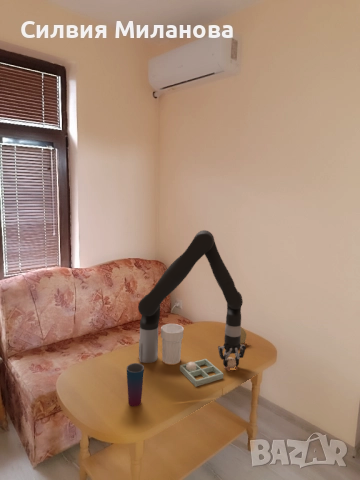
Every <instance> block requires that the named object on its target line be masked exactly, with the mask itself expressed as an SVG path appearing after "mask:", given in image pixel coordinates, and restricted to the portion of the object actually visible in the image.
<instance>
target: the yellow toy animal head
mask: <svg viewBox="0 0 360 480" xmlns="http://www.w3.org/2000/svg"><path fill="white" fill-rule="evenodd" d="M246 340H247V332H246V330H245V329H244V327H243V326H241V339H240V344H241V345H242V344H244V343H245V342H246Z"/></svg>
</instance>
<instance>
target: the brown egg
mask: <svg viewBox="0 0 360 480" xmlns="http://www.w3.org/2000/svg"><path fill="white" fill-rule="evenodd" d="M227 366H228V367H229V368H234V367H235V366H236V360H235V357H232V356H229V357H228V359H227Z"/></svg>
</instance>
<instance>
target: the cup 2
mask: <svg viewBox="0 0 360 480" xmlns="http://www.w3.org/2000/svg"><path fill="white" fill-rule="evenodd" d="M184 330H185V328H184V327H183V325H180V324H177V323H167V324H163V325H161V327H160V338H161V342H162V344H161V350H162V352H161V353H162V357H161V360H162V362H163V363H164V365H169V366H175V365H178V364H180V362H181V354H182V340H183V338H184Z"/></svg>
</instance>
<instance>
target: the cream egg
mask: <svg viewBox="0 0 360 480" xmlns="http://www.w3.org/2000/svg"><path fill="white" fill-rule="evenodd" d="M194 362H195V361H189V362H187V363H186V364H187V365H186V370H187V371H188V372H192V371H195V370H196V369H197V366H196V364H195V363H194Z"/></svg>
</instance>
